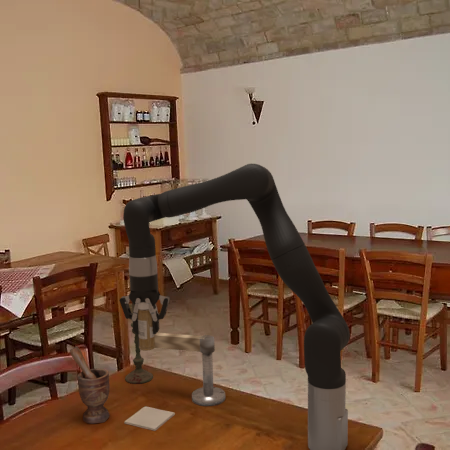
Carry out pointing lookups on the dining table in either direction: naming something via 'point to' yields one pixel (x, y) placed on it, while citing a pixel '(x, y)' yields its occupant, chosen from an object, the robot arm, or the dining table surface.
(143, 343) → the sprinkles bottle
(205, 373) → the post
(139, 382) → the candlestick holder
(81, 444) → the dining table surface
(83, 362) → the mortar and pestle
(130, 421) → the cream pad
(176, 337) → the swing arm
